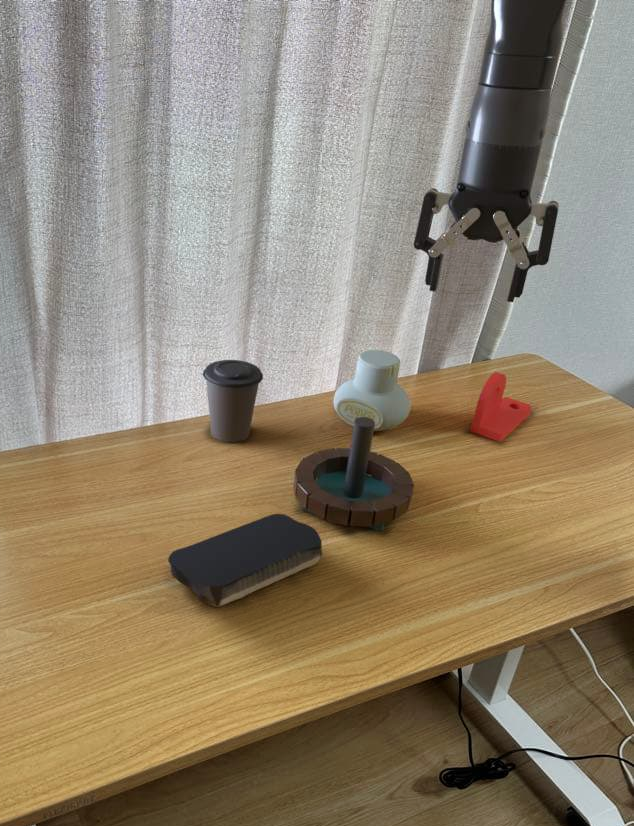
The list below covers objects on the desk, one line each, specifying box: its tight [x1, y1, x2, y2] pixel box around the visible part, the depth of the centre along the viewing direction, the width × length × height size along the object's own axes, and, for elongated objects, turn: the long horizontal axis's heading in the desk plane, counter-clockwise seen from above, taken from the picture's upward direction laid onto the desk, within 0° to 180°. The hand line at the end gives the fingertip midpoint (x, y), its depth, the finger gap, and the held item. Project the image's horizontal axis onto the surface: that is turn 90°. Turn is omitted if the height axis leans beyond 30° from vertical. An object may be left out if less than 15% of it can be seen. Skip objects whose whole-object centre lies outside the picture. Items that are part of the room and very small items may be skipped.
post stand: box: [301, 417, 391, 532], centre depth 97 cm, size 10×10×11 cm
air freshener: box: [333, 349, 412, 432], centre depth 114 cm, size 11×8×10 cm
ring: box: [293, 447, 415, 528], centre depth 99 cm, size 14×14×2 cm
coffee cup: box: [202, 359, 264, 443], centre depth 110 cm, size 8×8×10 cm
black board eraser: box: [167, 513, 323, 608], centre depth 87 cm, size 16×8×4 cm, turn 126°
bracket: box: [469, 371, 533, 443], centre depth 117 cm, size 12×4×8 cm, turn 141°
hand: (471, 294), depth 91 cm, fingers open, 8 cm apart
